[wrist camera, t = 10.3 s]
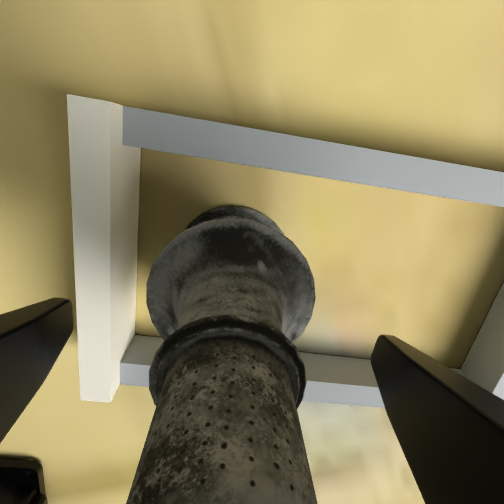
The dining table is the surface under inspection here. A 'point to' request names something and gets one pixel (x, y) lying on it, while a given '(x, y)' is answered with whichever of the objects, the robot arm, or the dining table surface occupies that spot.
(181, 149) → the frame
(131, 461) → the dining table surface
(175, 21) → the dining table surface
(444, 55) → the dining table surface
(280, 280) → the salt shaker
